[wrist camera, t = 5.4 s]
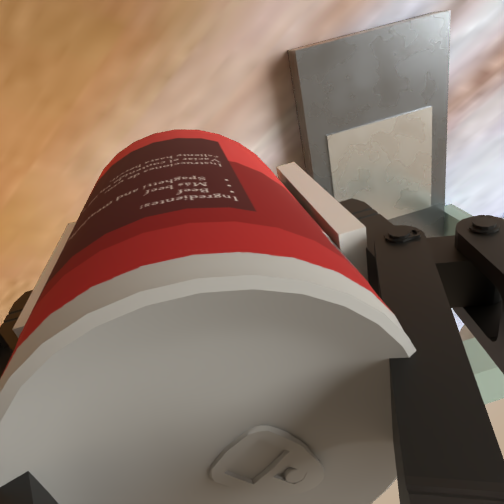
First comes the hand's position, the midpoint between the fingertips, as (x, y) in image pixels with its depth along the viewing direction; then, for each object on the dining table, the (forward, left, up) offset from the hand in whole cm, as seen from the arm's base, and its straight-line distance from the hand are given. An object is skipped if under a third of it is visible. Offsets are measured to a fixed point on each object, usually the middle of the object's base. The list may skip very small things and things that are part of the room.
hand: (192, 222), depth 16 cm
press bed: (+6, +16, -17) cm, 24 cm away
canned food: (0, 0, 0) cm, 0 cm away
